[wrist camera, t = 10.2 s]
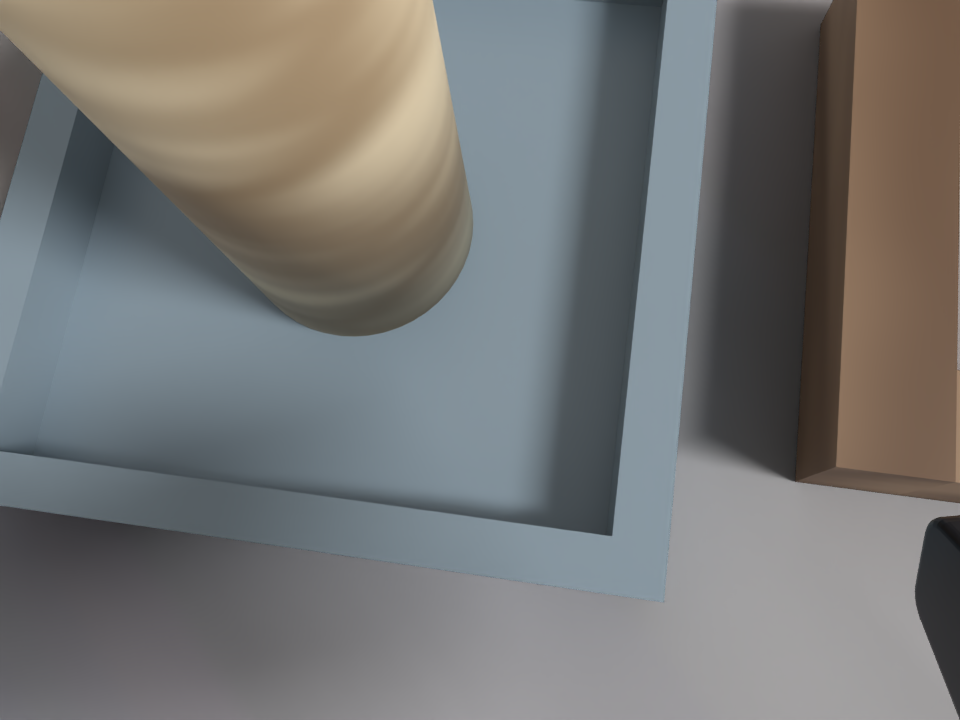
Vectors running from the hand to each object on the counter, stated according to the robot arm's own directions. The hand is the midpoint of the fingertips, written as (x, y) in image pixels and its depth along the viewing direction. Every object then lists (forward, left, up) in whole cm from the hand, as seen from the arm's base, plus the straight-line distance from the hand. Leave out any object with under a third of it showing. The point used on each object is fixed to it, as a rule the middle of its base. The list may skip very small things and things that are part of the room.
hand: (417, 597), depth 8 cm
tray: (-4, +7, -10) cm, 13 cm away
